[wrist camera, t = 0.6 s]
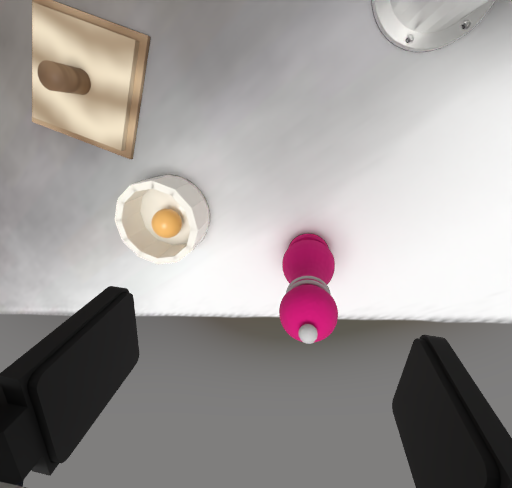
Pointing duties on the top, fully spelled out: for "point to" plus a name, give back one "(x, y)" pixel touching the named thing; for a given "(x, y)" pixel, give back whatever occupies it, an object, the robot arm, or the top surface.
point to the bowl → (152, 200)
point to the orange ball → (166, 223)
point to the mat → (138, 82)
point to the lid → (82, 76)
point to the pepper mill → (308, 290)
